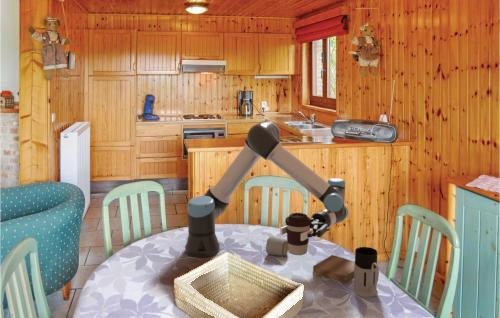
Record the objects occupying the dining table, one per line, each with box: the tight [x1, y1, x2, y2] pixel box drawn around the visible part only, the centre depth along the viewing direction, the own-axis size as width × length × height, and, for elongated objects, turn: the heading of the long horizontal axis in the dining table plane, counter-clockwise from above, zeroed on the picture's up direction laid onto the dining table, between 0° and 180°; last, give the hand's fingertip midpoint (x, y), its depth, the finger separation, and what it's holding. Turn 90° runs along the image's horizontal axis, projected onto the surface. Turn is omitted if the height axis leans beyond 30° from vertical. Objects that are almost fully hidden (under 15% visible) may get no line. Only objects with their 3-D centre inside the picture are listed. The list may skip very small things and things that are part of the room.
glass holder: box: [351, 246, 380, 298], centre depth 152 cm, size 9×14×15 cm, turn 8°
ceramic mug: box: [265, 235, 289, 257], centre depth 189 cm, size 11×8×8 cm
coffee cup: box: [284, 212, 311, 256], centre depth 170 cm, size 10×10×15 cm
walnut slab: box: [312, 254, 355, 285], centre depth 170 cm, size 14×14×3 cm
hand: (291, 234), depth 166 cm, fingers closed on coffee cup, 9 cm apart
